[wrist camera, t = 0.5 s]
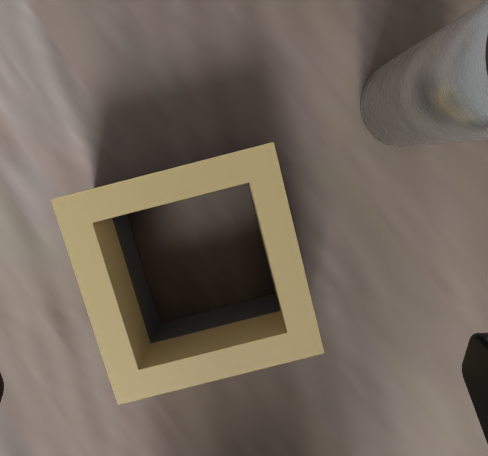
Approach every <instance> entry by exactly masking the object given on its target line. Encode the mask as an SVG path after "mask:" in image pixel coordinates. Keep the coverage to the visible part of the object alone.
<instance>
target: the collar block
mask: <svg viewBox="0 0 488 456" xmlns="http://www.w3.org/2000/svg"><path fill="white" fill-rule="evenodd" d="M245 183H248V187H249V191H250V195H251V199H252V203H253V207H254V210H255V214H256V218H257V222H258V226H259V230H260V234H261V238H262V242H263V246H264V250H265V254H266V258H267V262H268V266H269V270H270V274H271V278H272V282H273V286H274V290H275V294H272V295H268V296H264V297H261V298H257V299H253V300H249V301H245V302H241V303H237V304H233V305H229V306H225V307H221V308H217V309H213V310H209V311H205V312H201V313H197V314H193V315H189V316H185V317H181V318H177V319H173V320H170V321H166V322H162V323H160V322H159V319H158V316H157V312H156V309H155V306H154V302H153V299H152V296H151V292H150V289H149V286H148V282H147V279H146V276H145V272H144V269H143V266H142V262H141V259H140V256H139V252H138V249H137V246H136V242H135V239H134V236H133V232H132V229H131V226H130V222H129V219H128V216H127V214H128V213H132V212H136V211H140V210H144V209H148V208H152V207H156V206H160V205H163V204H167V203H171V202H175V201H179V200H183V199H187V198H191V197H195V196H198V195H202V194H206V193H210V192H214V191H218V190H222V189H226V188H230V187H233V186H237V185H241V184H245ZM51 202H52V205H53V208H54V211H55V214H56V217H57V220H58V223H59V227H60V230H61V233H62V236H63V239H64V242H65V245H66V248H67V251H68V254H69V257H70V260H71V263H72V266H73V269H74V272H75V276H76V279H77V282H78V285H79V288H80V291H81V294H82V297H83V300H84V303H85V306H86V309H87V312H88V315H89V318H90V322H91V325H92V328H93V331H94V334H95V337H96V340H97V343H98V346H99V349H100V352H101V355H102V358H103V361H104V364H105V367H106V371H107V374H108V377H109V380H110V383H111V386H112V389H113V392H114V395H115V398H116V401H117V404H118V405H120V404H124V403H128V402H132V401H136V400H140V399H144V398H148V397H152V396H156V395H160V394H164V393H168V392H172V391H176V390H180V389H184V388H188V387H192V386H196V385H200V384H204V383H208V382H212V381H216V380H220V379H224V378H228V377H232V376H236V375H240V374H244V373H248V372H252V371H256V370H260V369H264V368H268V367H272V366H276V365H280V364H284V363H288V362H292V361H296V360H300V359H304V358H308V357H312V356H316V355H320V354H324V350H323V346H322V341H321V337H320V333H319V329H318V325H317V321H316V316H315V312H314V308H313V304H312V300H311V295H310V291H309V287H308V283H307V279H306V275H305V270H304V266H303V262H302V258H301V254H300V250H299V245H298V241H297V237H296V233H295V229H294V225H293V220H292V216H291V212H290V208H289V204H288V200H287V195H286V191H285V187H284V183H283V179H282V175H281V170H280V166H279V162H278V158H277V154H276V150H275V145H274V142H271V143H267V144H263V145H259V146H256V147H252V148H248V149H244V150H240V151H236V152H232V153H229V154H225V155H221V156H217V157H213V158H209V159H205V160H201V161H198V162H194V163H190V164H186V165H182V166H178V167H174V168H171V169H167V170H163V171H159V172H155V173H151V174H147V175H143V176H140V177H136V178H132V179H128V180H124V181H120V182H116V183H113V184H109V185H105V186H101V187H97V188H93V189H89V190H86V191H82V192H78V193H74V194H70V195H66V196H62V197H58V198H55V199H51Z"/></svg>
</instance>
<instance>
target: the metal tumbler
mask: <svg viewBox="0 0 488 456" xmlns="http://www.w3.org/2000/svg"><path fill="white" fill-rule="evenodd" d="M361 115H362V118H363V121H364V123H365V125H366V127H367V129H368V130H369V132H370V133H371V134H372V135H373V136H374V137H375V138H377V139H378V140H379V141H381V142H383V143H385V144H388V145H392V146H399V147H401V146H416V145H429V144H443V143H457V142H470V141H484V140H488V0H486V1H484V2H483V3H481V4H480V5H478V6H476V7H475V8H473V9H472V10H470V11H468V12H467V13H465V14H464V15H462V16H460V17H459V18H457V19H456V20H454V21H452V22H451V23H449V24H448V25H446V26H445V27H443V28H441V29H440V30H438V31H437V32H435V33H433V34H432V35H430V36H429V37H427V38H425V39H424V40H422V41H421V42H419V43H417V44H416V45H414V46H413V47H411V48H409V49H408V50H406V51H405V52H403V53H402V54H400V55H398V56H397V57H395V58H394V59H392V60H390V61H389V62H387V63H386V64H384V65H382V66H381V67H379V68H378V69H377V70H376V71H375V72H374V73H373V74H372V75H371V76H370V78H369V79H368V80H367V82H366V84H365V86H364V89H363V91H362V96H361Z"/></svg>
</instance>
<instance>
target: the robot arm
mask: <svg viewBox="0 0 488 456" xmlns="http://www.w3.org/2000/svg"><path fill="white" fill-rule="evenodd" d="M462 374H463V378H464V381H465V383H466V386H467V389H468V392H469V394H470V397H471V400H472V403H473V405H474V408H475V411H476V413H477V416H478V419H479V422H480V424H481V427H482V430H483V433H484V435H485V438H486V441H487V443H488V333H475V334H473V335H472V336H471V338H470V340H469V343H468V347H467V350H466V353H465V356H464V360H463V363H462ZM3 391H4V382H3V378H2V376H1V373H0V402H1V399H2V396H3Z"/></svg>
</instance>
